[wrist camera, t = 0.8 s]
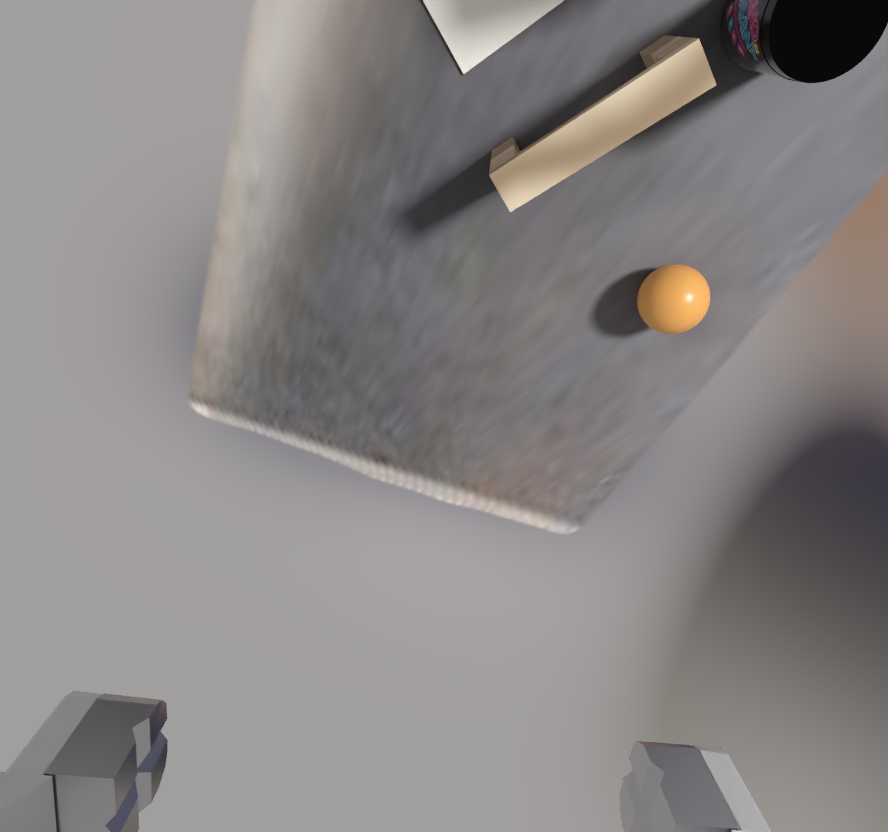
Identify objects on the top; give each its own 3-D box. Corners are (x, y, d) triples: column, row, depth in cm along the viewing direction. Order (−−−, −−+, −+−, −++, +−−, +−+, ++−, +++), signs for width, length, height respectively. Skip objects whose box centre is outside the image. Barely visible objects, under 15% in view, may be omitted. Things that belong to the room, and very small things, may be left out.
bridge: (491, 150, 51) (489, 175, 43) (664, 35, 46) (699, 38, 38) (509, 182, 52) (510, 212, 44) (680, 73, 47) (716, 85, 39)
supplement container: (794, -64, 42) (869, -86, 33) (831, 27, 45) (910, 29, 36) (701, 9, 45) (748, 7, 36) (741, 91, 47) (794, 108, 39)
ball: (684, 242, 54) (703, 265, 49) (709, 297, 56) (729, 324, 51) (620, 276, 56) (632, 301, 51) (647, 328, 58) (660, 357, 53)
